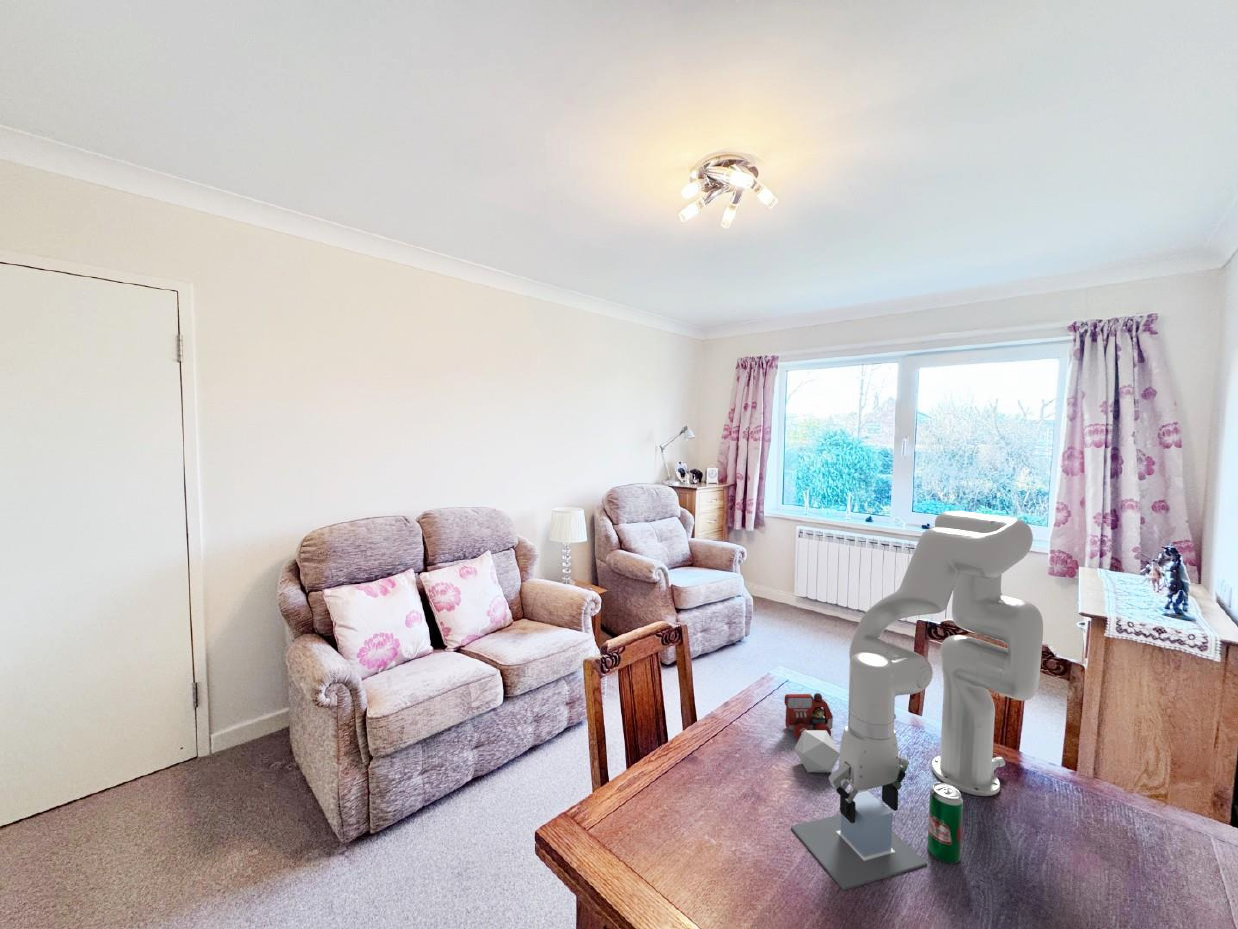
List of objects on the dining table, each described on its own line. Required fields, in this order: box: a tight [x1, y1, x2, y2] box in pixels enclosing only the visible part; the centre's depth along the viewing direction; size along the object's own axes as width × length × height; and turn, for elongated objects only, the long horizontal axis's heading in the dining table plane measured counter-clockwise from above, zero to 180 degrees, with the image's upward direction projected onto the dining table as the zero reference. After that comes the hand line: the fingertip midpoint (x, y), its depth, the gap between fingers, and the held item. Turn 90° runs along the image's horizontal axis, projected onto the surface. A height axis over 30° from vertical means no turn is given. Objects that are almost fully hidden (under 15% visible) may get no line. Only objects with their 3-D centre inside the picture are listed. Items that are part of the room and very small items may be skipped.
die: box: [794, 730, 840, 773], centre depth 116 cm, size 8×9×10 cm
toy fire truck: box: [784, 692, 834, 741], centre depth 129 cm, size 7×12×10 cm, turn 94°
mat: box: [790, 813, 928, 891], centre depth 94 cm, size 18×14×1 cm
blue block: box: [840, 790, 894, 857], centre depth 94 cm, size 6×6×7 cm
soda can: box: [926, 782, 964, 864], centre depth 92 cm, size 5×5×12 cm
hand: (868, 811), depth 94 cm, fingers open, 9 cm apart
